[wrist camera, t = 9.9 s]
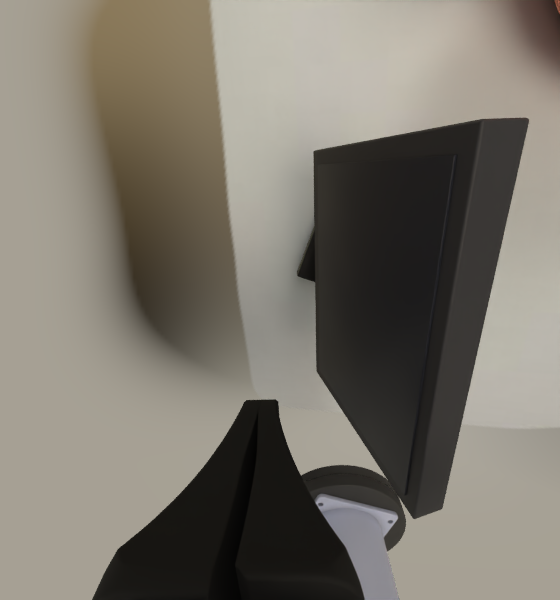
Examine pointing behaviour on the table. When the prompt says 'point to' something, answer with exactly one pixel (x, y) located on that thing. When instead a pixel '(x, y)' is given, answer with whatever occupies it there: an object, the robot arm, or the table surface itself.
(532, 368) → the table surface
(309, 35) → the table surface
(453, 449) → the panel
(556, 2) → the teapot
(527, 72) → the table surface
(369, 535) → the robot arm
